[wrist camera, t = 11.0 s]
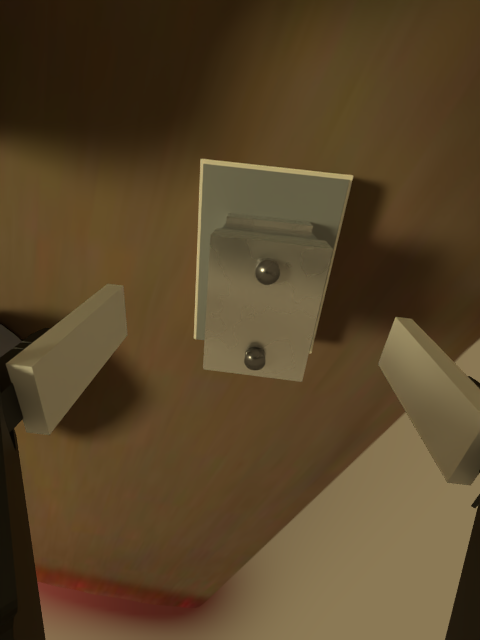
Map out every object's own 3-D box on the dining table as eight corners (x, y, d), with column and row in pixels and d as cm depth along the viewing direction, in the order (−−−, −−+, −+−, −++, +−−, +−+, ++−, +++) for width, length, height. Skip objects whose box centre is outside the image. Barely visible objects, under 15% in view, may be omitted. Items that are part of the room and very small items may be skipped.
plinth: (200, 322, 32) (192, 341, 28) (208, 160, 25) (199, 158, 22) (306, 335, 32) (311, 356, 28) (342, 174, 25) (355, 175, 21)
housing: (222, 309, 27) (201, 375, 18) (229, 212, 23) (208, 237, 15) (290, 317, 27) (303, 388, 18) (309, 221, 23) (335, 252, 14)
